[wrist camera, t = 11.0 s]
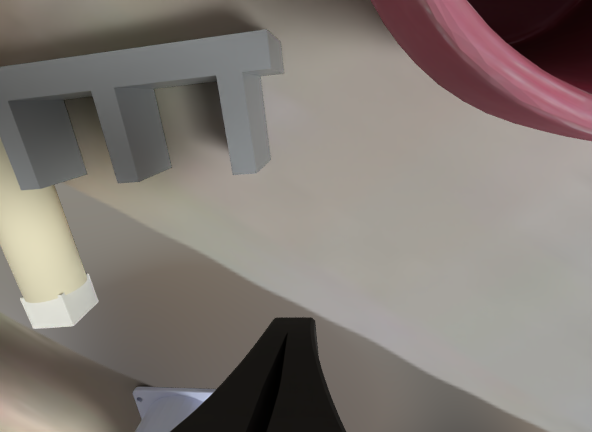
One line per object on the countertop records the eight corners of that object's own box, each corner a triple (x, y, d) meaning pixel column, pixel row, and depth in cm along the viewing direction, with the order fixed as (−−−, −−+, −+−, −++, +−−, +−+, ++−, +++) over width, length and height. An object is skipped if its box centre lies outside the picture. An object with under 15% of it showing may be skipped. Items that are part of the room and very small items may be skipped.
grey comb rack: (292, 158, 19) (280, 173, 15) (-28, 183, 22) (-104, 201, 18) (280, 38, 17) (262, 22, 13) (-70, 86, 20) (-166, 84, 16)
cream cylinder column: (106, 297, 25) (75, 329, 21) (61, 301, 25) (22, 333, 21) (44, 115, 20) (-8, 118, 17) (-11, 121, 20) (-73, 125, 17)
